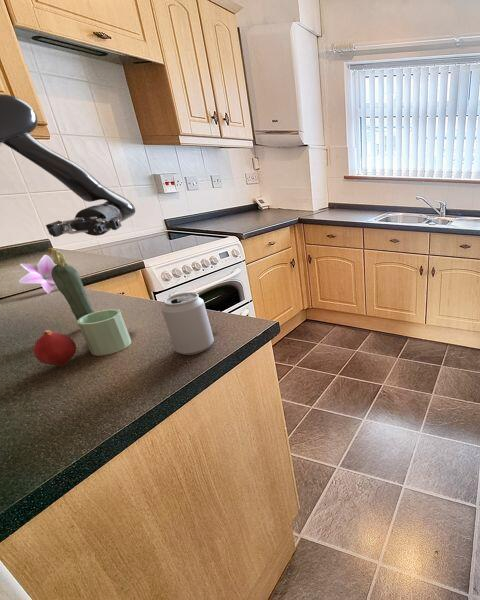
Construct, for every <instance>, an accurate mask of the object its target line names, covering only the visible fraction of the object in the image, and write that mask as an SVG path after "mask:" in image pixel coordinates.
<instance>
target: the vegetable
mask: <svg viewBox="0 0 480 600" xmlns="http://www.w3.org/2000/svg"><path fill="white" fill-rule="evenodd" d="M47 251H48V256H49V255H51V257H52V261H53V262H54V264H55V266H54V267H53V269H52V272H51V275H52V278H53V281H54V282H55V286H56V287H57V289H58V291H59V292H60V294H62V296H63V297H64V298H65V300H66V301H67V303H68V305H69V308H70V310H71V312H72V314H73V315H74V317H75V319H76V321H77V320H78V319H79V318H81V317H83V316H85V315H87V314H90V313H93V312H95V310H94V307H93V305H92V304H91V301H90V300H89V298H88V294H87V293H86V290H85V287H84V284H83V281H82V279H81V276H80V274H79V272H78V270H77V269H76V268H75V267H73V266H72V265H71V264H68V263H67V258H66V256H65V255H64V254H63V253H61V252H60V251H58V250H57V249H55V248H54V247H48V248H47Z"/></svg>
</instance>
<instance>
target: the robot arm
mask: <svg viewBox="0 0 480 600" xmlns="http://www.w3.org/2000/svg"><path fill="white" fill-rule="evenodd" d="M38 123H39V120H38V114H37V113H36V111H35V109H34V108H33V107H32V106H31V105H30V104H29V103H27V102H26V101H25V100H23V99H22V98H19V97H16V96H14V95H10V94H4V93H3V94H2V93H0V144H4V145H5V146H7V147H8V148H10V149H12V150H13V151H14V152H16V153H18V154H19V155H20V156H22V157H24V158H25V159H27V160H28V161H30V162H32V163H33V164H35V165H36V166H38V167H39V168H40V169H42V170H43V171H45V172H47V173H48V174H50V175H51V176H52V177H54V178H55V179H56V180H58V181H59V182H60V183H61V184H63V185H64V186H65V187H66V188H68V189H69V190H70V191H71V192H72V193H74V194H75V195H76V196H78V197H79V198H80V199H82V200H83V201H85V202H88V203H92V202H97V201H103V200H104V202H103V203H99V204H96V205H90V206H88V207H86V208H82V209H81V210H79V211H78V212H76V214H75V216H74V218H72V219H67V220H57V221H52V222H50V223H47V224H45V227H46V229H47V231H48V234H49V236H52V237H53V238H57V237H60V236H62V235H65V234H67V235H75V234H81V233H82V234H84V233H85V234H86V235H88V236H97V237H98V236H103V235H105V234H107V233H108V232H110V231H117V230H119V229H120V228H121V227H122V222H125V221H126V220H128V219H129V218H131V217H133V216H134V215H135V214H136V207H135V205H134V204H133V203H132V202H131V201H130V200H129V199H128V198H126V197H124V196H123V195H121V194H118V193H117V192H115V191H113V190H111V189H110V188H108V187H107V186H105V185H103V184H102V183H101V182H100V181H98V180H97V179H96V178H95V177H94V176H93V175H92V174H90V172H89V171H87V170H86V169H84V167H82V166H80V165H79V164H77V163H76V162H74V161H72V160H70V159H69V158H67V157H65V156H63V155H61V154H59V153H57V152H56V151H54V150H52V149H50V148H49V147H47V146H45V145H44V144H42V143H41V142H40V141H39V140H37V139H36V138H35V137H33V135H31V133H33V132H34V131H35V130H36V129H37V127H38Z"/></svg>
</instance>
